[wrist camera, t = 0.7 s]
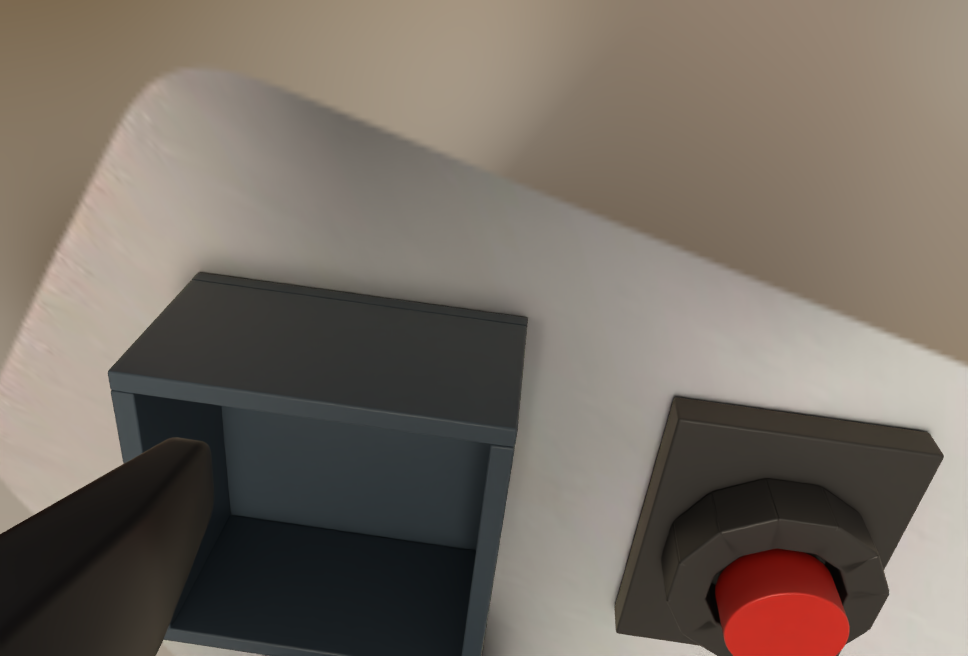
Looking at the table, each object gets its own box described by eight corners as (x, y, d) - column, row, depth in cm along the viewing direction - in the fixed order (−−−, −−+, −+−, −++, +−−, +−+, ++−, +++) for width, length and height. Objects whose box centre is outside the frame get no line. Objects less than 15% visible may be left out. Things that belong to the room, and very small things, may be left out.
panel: (824, 638, 29) (849, 712, 27) (614, 607, 30) (618, 677, 27) (929, 431, 24) (972, 498, 22) (674, 395, 25) (685, 457, 22)
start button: (811, 633, 26) (826, 681, 24) (702, 617, 26) (710, 664, 24) (849, 557, 24) (868, 603, 22) (731, 539, 24) (742, 585, 22)
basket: (491, 554, 29) (476, 688, 24) (221, 514, 29) (154, 639, 24) (528, 317, 24) (517, 429, 19) (197, 271, 24) (106, 371, 19)
